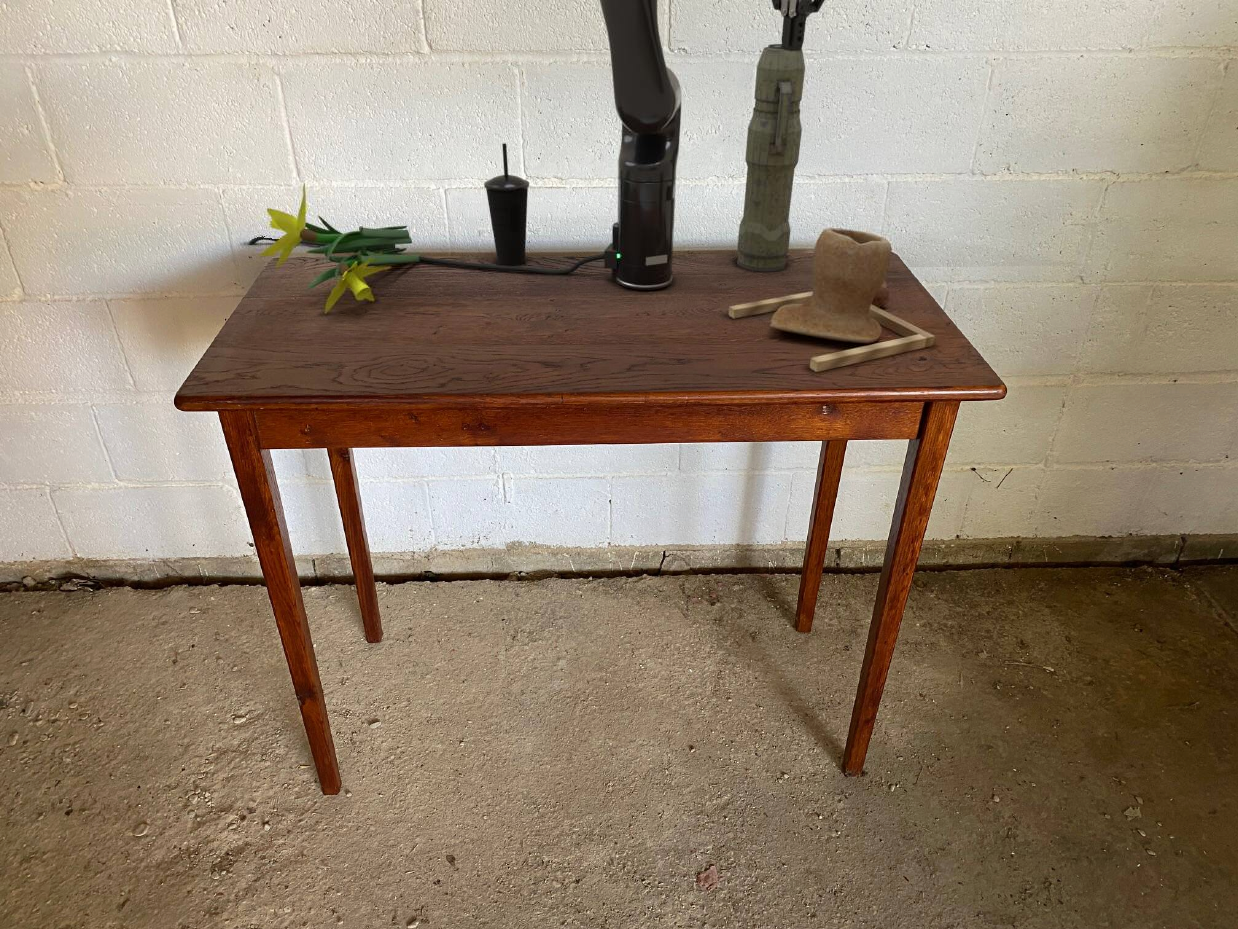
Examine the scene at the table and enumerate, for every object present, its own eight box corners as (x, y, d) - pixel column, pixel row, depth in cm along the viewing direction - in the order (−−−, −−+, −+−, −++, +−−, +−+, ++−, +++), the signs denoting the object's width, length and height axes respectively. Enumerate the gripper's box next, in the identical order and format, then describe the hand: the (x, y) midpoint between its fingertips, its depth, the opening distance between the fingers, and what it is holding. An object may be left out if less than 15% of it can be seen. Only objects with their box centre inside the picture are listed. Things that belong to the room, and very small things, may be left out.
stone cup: (885, 325, 126) (904, 225, 118) (874, 356, 116) (894, 250, 108) (785, 310, 130) (797, 213, 123) (767, 338, 121) (778, 235, 113)
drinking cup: (539, 257, 151) (534, 141, 141) (522, 270, 145) (515, 149, 135) (501, 252, 153) (493, 137, 143) (482, 265, 147) (472, 146, 137)
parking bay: (816, 372, 112) (817, 362, 111) (728, 315, 129) (729, 306, 128) (932, 345, 119) (934, 336, 119) (835, 295, 136) (836, 286, 135)
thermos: (775, 251, 155) (798, 41, 136) (795, 273, 145) (823, 49, 126) (728, 253, 154) (745, 41, 135) (746, 275, 144) (766, 49, 125)
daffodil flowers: (461, 270, 148) (361, 283, 115) (397, 308, 152) (283, 332, 119) (414, 182, 145) (297, 170, 112) (350, 223, 150) (220, 224, 117)
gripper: (750, -113, 102) (738, 46, 111) (817, -118, 92) (798, 57, 101) (801, -111, 105) (785, 44, 114) (871, -116, 94) (847, 54, 104)
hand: (791, 50), depth 107 cm, fingers closed
